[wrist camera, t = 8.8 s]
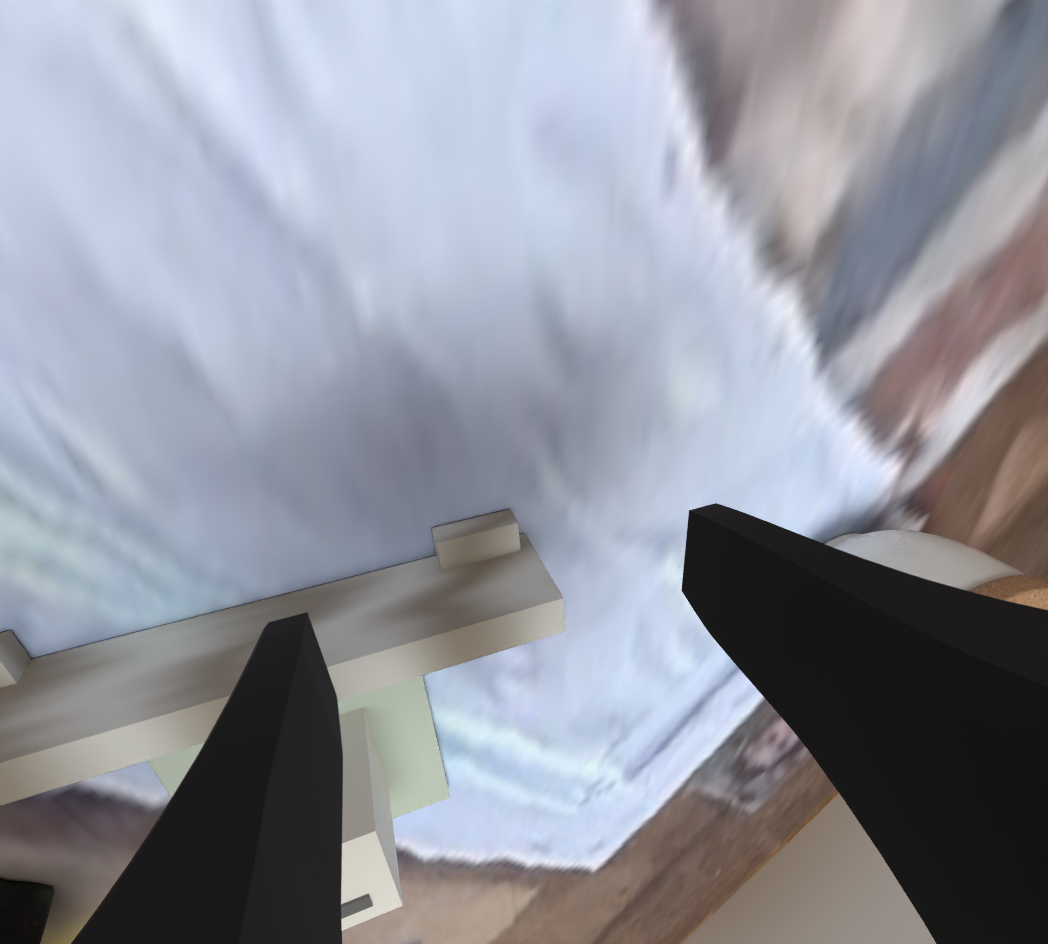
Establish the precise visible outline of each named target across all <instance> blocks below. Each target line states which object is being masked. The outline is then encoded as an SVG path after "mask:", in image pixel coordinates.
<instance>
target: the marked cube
mask: <svg viewBox="0 0 1048 944" xmlns="http://www.w3.org/2000/svg"><path fill="white" fill-rule="evenodd" d="M339 720H340V729H341V740H342V750H343V809H342V878H341V923H342V930H345V929H347V928H349V927H352V926H354V925H357V924H359V923H362V922H364V921H367V920H369V919H371V918H374V917H376V916H379V915H381V914H384V913H386V912H388V911H391V910H393V909H396V908H398V907H401V906H403V904H402V896H401V888H400V880H399V871H398V863H397V855H396V847H395V839H394V831H393V822H392V814H391V806H390V798H389V790H388V781H387V778H386V775H385V772H384V769H383V766H382V763H381V759H380V756H379V753H378V750H377V747H376V744H375V741H374V738H373V734H372V731H371V728H370V725H369V722H368V719H367V716H366V712H365V709H364V707H363V708H360V709H357V710H354V711H350V712H347V713H344V714H341V715H339Z"/></svg>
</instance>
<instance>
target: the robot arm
mask: <svg viewBox="0 0 1048 944" xmlns="http://www.w3.org/2000/svg"><path fill="white" fill-rule="evenodd" d="M682 592H683V593H684V595H685V597H686V598H687V600H688V601H689V603H690V605H691V606H692V608H693V609H694V611H695V612H696V614H697V616H698V617H699V618H700V620H701V621H702V623H703V624H704V626H705V627H706V629H707V630H708V632H709V633H710V634H711V636H712V637H713V638H714V639H715V640H716V642H717V643H718V644H719V645H720V646H721V648H722V649H723V650H724V651H725V652H726V653H727V655H728V656H729V657H730V658H731V659H732V660H733V662H734V663H735V664H736V665H737V666H738V667H739V669H740V670H741V671H742V672H743V673H744V674H745V676H746V677H747V678H748V679H749V680H750V681H751V682H752V684H753V685H754V686H755V687H756V688H757V689H758V691H759V692H760V693H761V694H762V695H763V696H764V697H765V699H766V700H767V701H768V702H769V703H770V704H771V706H772V707H773V708H774V709H775V710H776V711H777V712H778V714H779V715H780V716H781V717H782V718H783V719H784V721H785V722H786V723H787V724H788V725H789V726H790V728H791V729H792V730H793V731H794V733H795V734H796V735H797V736H798V737H799V739H800V740H801V741H802V742H803V744H804V745H805V746H806V747H807V749H808V750H809V751H810V753H811V754H812V756H813V757H814V758H815V760H816V761H817V763H818V764H819V765H820V767H821V768H822V770H823V771H824V772H825V774H826V775H827V777H828V778H829V779H830V781H831V782H832V784H833V785H834V786H835V788H836V789H837V791H838V792H839V793H840V795H841V796H842V797H843V799H844V800H845V802H846V803H847V805H848V806H849V808H850V809H851V811H852V812H853V814H854V815H855V817H856V818H857V819H858V821H859V823H860V824H861V826H862V827H863V828H864V830H865V831H866V833H867V834H868V836H869V837H870V839H871V840H872V842H873V843H874V845H875V846H876V848H877V849H878V850H879V852H880V854H881V855H882V857H883V858H884V860H885V861H886V863H887V865H888V866H889V868H890V869H891V871H892V872H893V874H894V876H895V877H896V879H897V880H898V882H899V884H900V885H901V886H902V888H903V890H904V892H905V893H906V894H907V896H908V898H909V899H910V901H911V903H912V904H913V906H914V907H915V909H916V910H917V912H918V914H919V915H920V917H921V918H922V920H923V921H924V923H925V925H926V926H927V928H928V930H929V932H930V933H931V935H932V937H933V938H934V940H935V942H936V944H1048V610H1045V609H1040V608H1036V607H1031V606H1027V605H1022V604H1018V603H1013V602H1009V601H1005V600H1001V599H997V598H993V597H989V596H985V595H981V594H977V593H973V592H970V591H966V590H963V589H959V588H956V587H952V586H948V585H945V584H941V583H938V582H934V581H931V580H927V579H924V578H921V577H918V576H914V575H911V574H908V573H905V572H902V571H899V570H896V569H893V568H890V567H887V566H884V565H881V564H878V563H875V562H872V561H869V560H866V559H863V558H861V557H858V556H855V555H852V554H850V553H847V552H844V551H841V550H839V549H836V548H833V547H831V546H828V545H825V544H823V543H820V542H818V541H815V540H812V539H810V538H807V537H805V536H802V535H800V534H797V533H794V532H792V531H789V530H787V529H784V528H782V527H779V526H777V525H774V524H772V523H769V522H767V521H764V520H761V519H759V518H756V517H754V516H751V515H748V514H746V513H743V512H740V511H737V510H735V509H732V508H729V507H726V506H723V505H719V504H712V505H708V506H704V507H701V508H697V509H693V510H689V518H688V529H687V539H686V550H685V561H684V571H683V582H682ZM342 809H343V750H342V740H341V729H340V720H339V710H338V701H337V695H336V692H335V689H334V686H333V683H332V681H331V678H330V675H329V672H328V669H327V666H326V663H325V661H324V658H323V655H322V652H321V649H320V646H319V644H318V641H317V638H316V635H315V632H314V629H313V626H312V624H311V621H310V618H309V615H308V612H306V613H302V614H298V615H294V616H291V617H287V618H283V619H279V620H276V621H272V622H268V624H267V625H266V626H265V628H264V629H263V631H262V633H261V635H260V637H259V639H258V641H257V643H256V645H255V647H254V650H253V652H252V654H251V656H250V658H249V660H248V662H247V664H246V666H245V668H244V670H243V672H242V674H241V676H240V678H239V680H238V682H237V684H236V686H235V688H234V690H233V692H232V694H231V696H230V697H229V699H228V701H227V703H226V705H225V707H224V708H223V710H222V712H221V714H220V716H219V718H218V719H217V721H216V723H215V725H214V727H213V729H212V730H211V732H210V734H209V736H208V738H207V739H206V741H205V743H204V745H203V747H202V748H201V750H200V752H199V754H198V755H197V757H196V759H195V760H194V762H193V764H192V765H191V767H190V768H189V770H188V772H187V773H186V775H185V777H184V778H183V780H182V782H181V783H180V785H179V787H178V788H177V790H176V791H175V793H174V795H173V796H172V798H171V800H170V801H169V803H168V805H167V806H166V808H165V810H164V811H163V813H162V814H161V816H160V817H159V819H158V821H157V822H156V824H155V825H154V827H153V828H152V830H151V831H150V833H149V834H148V836H147V837H146V839H145V840H144V842H143V843H142V845H141V846H140V848H139V849H138V851H137V852H136V854H135V855H134V857H133V858H132V860H131V861H130V863H129V864H128V866H127V867H126V868H125V870H124V871H123V873H122V874H121V876H120V877H119V878H118V880H117V881H116V883H115V884H114V886H113V887H112V888H111V890H110V891H109V893H108V894H107V896H106V897H105V898H104V900H103V901H102V903H101V904H100V905H99V907H98V908H97V910H96V911H95V912H94V914H93V915H92V916H91V918H90V919H89V920H88V922H87V923H86V924H85V926H84V927H83V928H82V930H81V931H80V932H79V934H78V935H77V936H76V938H75V939H74V940H73V942H72V943H71V944H342V923H341V878H342Z"/></svg>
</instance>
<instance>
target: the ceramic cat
mask: <svg viewBox="0 0 1048 944" xmlns="http://www.w3.org/2000/svg"><path fill="white" fill-rule="evenodd" d="M53 893H54V892H53V890H52V888H51V887H48V886H44V885H37V884H30V883H22V882H6V881H4V880H1V879H0V944H40V942H41V939H42V935H43V932H44V928H45V925H46V921H47V918H48V914H49V910H50V906H51V902H52V898H53Z"/></svg>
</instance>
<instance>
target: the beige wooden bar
mask: <svg viewBox="0 0 1048 944" xmlns="http://www.w3.org/2000/svg"><path fill="white" fill-rule="evenodd" d="M432 534H433V539H434V545H435V550H436V556H432V557H429V558H425V559H421V560H417V561H413V562H409V563H405V564H401V565H397V566H393V567H389V568H386V569H382V570H378V571H374V572H370V573H366V574H362V575H358V576H354V577H350V578H346V579H342V580H339V581H335V582H331V583H327V584H323V585H319V586H315V587H311V588H307V589H303V590H299V591H296V592H292V593H288V594H284V595H280V596H276V597H272V598H268V599H264V600H260V601H256V602H253V603H249V604H245V605H241V606H237V607H233V608H229V609H225V610H221V611H217V612H213V613H209V614H206V615H202V616H198V617H194V618H190V619H186V620H182V621H178V622H174V623H170V624H166V625H163V626H159V627H155V628H151V629H147V630H143V631H139V632H135V633H131V634H127V635H123V636H120V637H116V638H112V639H108V640H104V641H100V642H96V643H92V644H88V645H84V646H80V647H77V648H73V649H69V650H65V651H61V652H57V653H53V654H49V655H45V656H41V657H37V658H33V659H31V658H30V656H29V655H28V654H27V652H26V651H25V649H24V648H23V647H22V645H21V644H20V643H19V641H18V640H17V638H16V637H15V636H14V634H13V633H12V631H11V630H9V631H5V632H1V633H0V806H1V805H4V804H7V803H11V802H14V801H17V800H20V799H24V798H27V797H30V796H33V795H36V794H40V793H43V792H46V791H49V790H53V789H56V788H59V787H62V786H66V785H69V784H72V783H75V782H79V781H82V780H85V779H88V778H91V777H95V776H98V775H101V774H104V773H108V772H111V771H114V770H117V769H121V768H124V767H127V766H130V765H134V764H137V763H140V762H143V761H147V760H150V759H153V758H156V757H159V756H163V755H166V754H169V753H172V752H176V751H179V750H182V749H185V748H189V747H192V746H195V745H198V744H202V743H205V741H206V739H207V738H208V736H209V734H210V732H211V730H212V729H213V727H214V725H215V723H216V721H217V719H218V718H219V716H220V714H221V712H222V710H223V708H224V707H225V705H226V703H227V701H228V699H229V697H230V696H231V694H232V692H233V690H234V688H235V686H236V684H237V682H238V680H239V678H240V676H241V674H242V672H243V670H244V668H245V666H246V664H247V662H248V660H249V658H250V656H251V654H252V652H253V650H254V647H255V645H256V643H257V641H258V639H259V637H260V635H261V633H262V631H263V629H264V628H265V626H266V625H267V624H268V622H272V621H276V620H279V619H283V618H287V617H291V616H294V615H298V614H302V613H306V612H308V615H309V618H310V621H311V624H312V626H313V629H314V632H315V635H316V638H317V641H318V644H319V646H320V649H321V652H322V655H323V658H324V661H325V663H326V666H327V669H328V672H329V675H330V678H331V681H332V683H333V686H334V689H335V692H336V695H337V701H341V700H344V699H347V698H350V697H354V696H357V695H360V694H363V693H367V692H370V691H373V690H376V689H380V688H383V687H386V686H389V685H393V684H396V683H399V682H402V681H405V680H409V679H412V678H415V677H418V676H422V675H425V674H428V673H431V672H435V671H438V670H441V669H444V668H448V667H451V666H454V665H457V664H460V663H464V662H467V661H470V660H473V659H477V658H480V657H483V656H486V655H490V654H493V653H496V652H499V651H503V650H506V649H509V648H512V647H516V646H519V645H522V644H525V643H528V642H532V641H535V640H538V639H541V638H545V637H548V636H551V635H554V634H558V633H561V632H564V631H565V618H564V598H563V596H562V594H561V593H560V591H559V589H558V588H557V586H556V584H555V583H554V581H553V579H552V578H551V576H550V574H549V573H548V571H547V569H546V568H545V566H544V564H543V563H542V561H541V559H540V558H539V556H538V554H537V553H536V551H535V549H534V548H533V546H532V544H531V543H530V541H529V539H528V538H527V536H526V534H525V533H522V534H519V527H518V522H517V520H516V519H515V517H514V515H513V514H512V512H511V510H510V509H508V510H504V511H500V512H496V513H492V514H488V515H483V516H479V517H475V518H471V519H467V520H463V521H459V522H455V523H451V524H446V525H442V526H438V527H434V528H432Z"/></svg>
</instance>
